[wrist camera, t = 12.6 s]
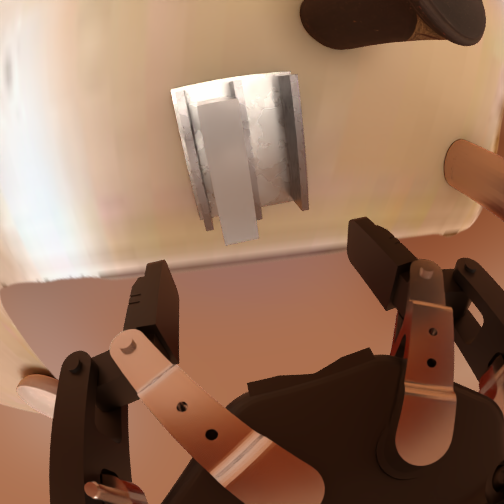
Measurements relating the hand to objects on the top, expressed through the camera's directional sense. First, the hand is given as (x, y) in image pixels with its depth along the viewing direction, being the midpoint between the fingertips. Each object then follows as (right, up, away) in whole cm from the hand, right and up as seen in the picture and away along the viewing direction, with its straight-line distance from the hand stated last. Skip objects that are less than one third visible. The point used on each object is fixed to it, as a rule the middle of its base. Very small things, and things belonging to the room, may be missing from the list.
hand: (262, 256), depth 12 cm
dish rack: (-2, +12, +18) cm, 22 cm away
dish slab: (-4, +11, +17) cm, 21 cm away
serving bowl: (-50, -34, +39) cm, 72 cm away
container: (+9, +28, +11) cm, 31 cm away
